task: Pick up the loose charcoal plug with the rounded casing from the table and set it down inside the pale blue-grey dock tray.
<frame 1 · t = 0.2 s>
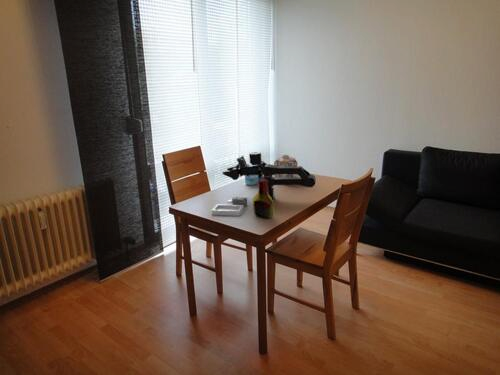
hand: (225, 171, 210), 16 cm above the table, tool horizontal, fingers open, 9 cm apart
plug: (239, 205, 201), on the table
dock tray: (228, 211, 192), on the table
bottle: (263, 216, 183), on the table
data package: (254, 183, 241), on the table
decorative jar: (286, 182, 240), on the table
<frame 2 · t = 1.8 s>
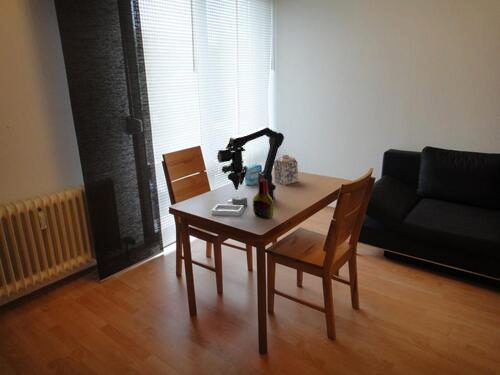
hand: (238, 187, 198), 11 cm above the table, tool pointing down, fingers open, 9 cm apart
nothing on the table moved.
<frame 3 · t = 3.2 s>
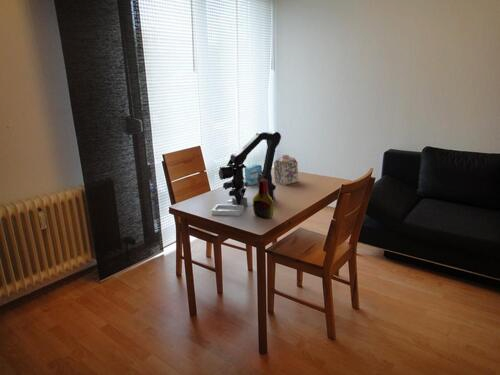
hand: (239, 202, 201), 1 cm above the table, tool pointing down, fingers closed on plug, 4 cm apart
plug: (239, 205, 201), on the table, touching gripper
everything else where it was.
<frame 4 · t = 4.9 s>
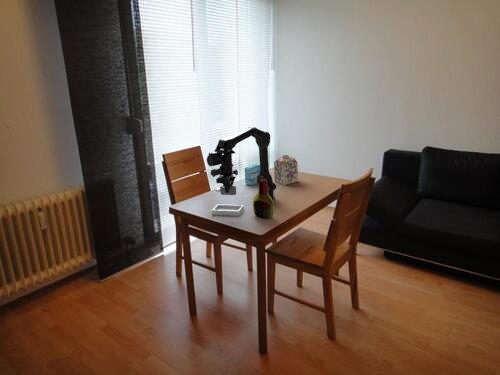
hand: (228, 191, 189), 11 cm above the table, tool pointing down, fingers closed on plug, 4 cm apart
plug: (228, 193, 189), point 10 cm above the table, touching gripper
everything else where it was.
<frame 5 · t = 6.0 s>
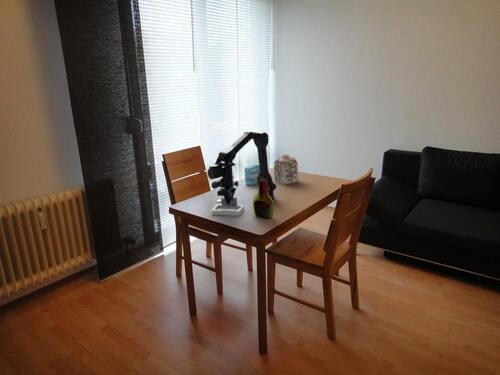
hand: (229, 203, 190), 5 cm above the table, tool pointing down, fingers closed on plug, 4 cm apart
plug: (229, 205, 191), point 4 cm above the table, touching gripper
everything else where it was.
when the fingers open (3 cm above the table, at t = 6.6 s): plug drops 1 cm, resting on dock tray.
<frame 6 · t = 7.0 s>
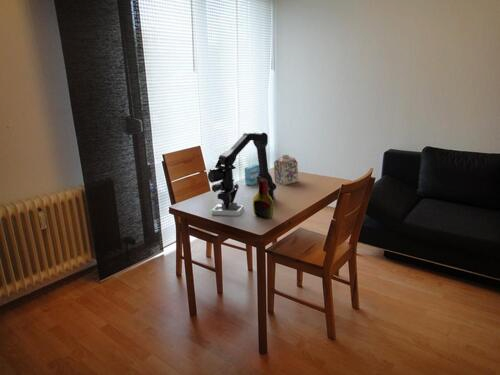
hand: (229, 206, 191), 3 cm above the table, tool pointing down, fingers open, 8 cm apart
plug: (229, 210, 192), point 1 cm above the table, touching dock tray
everything else where it was.
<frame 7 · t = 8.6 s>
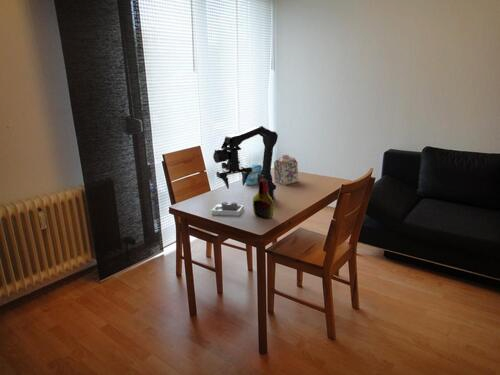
hand: (235, 187, 194), 12 cm above the table, tool pointing down, fingers open, 9 cm apart
nothing on the table moved.
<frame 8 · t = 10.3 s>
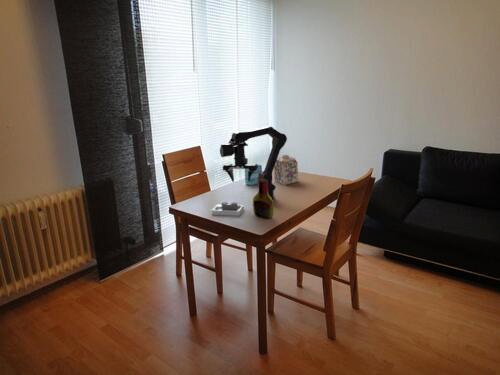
hand: (241, 182, 199), 13 cm above the table, tool pointing down, fingers open, 9 cm apart
nothing on the table moved.
at the end: plug inside the target area on the dock tray (1.0 cm from its centre), point 0.8 cm above the dock tray's base; the gripper is holding nothing; plug tilted 0° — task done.
